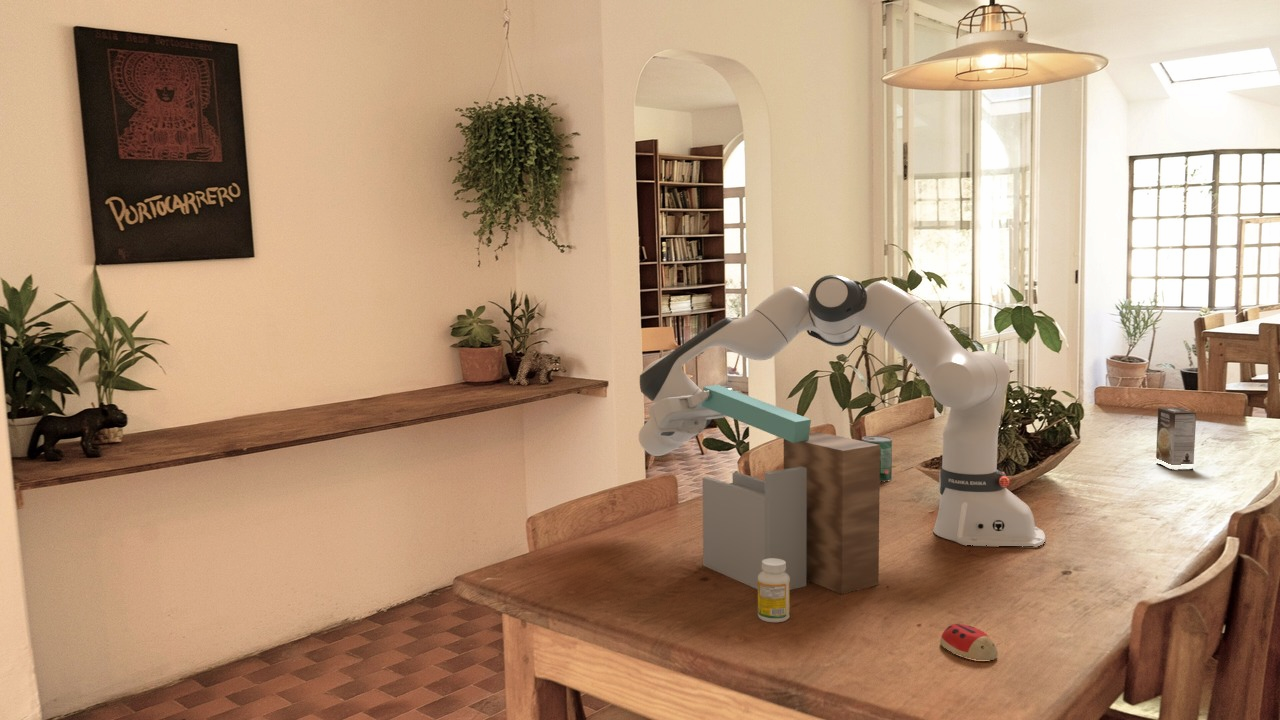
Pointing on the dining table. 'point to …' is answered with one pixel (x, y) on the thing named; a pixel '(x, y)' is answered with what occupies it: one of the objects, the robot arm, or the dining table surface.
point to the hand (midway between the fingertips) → (719, 392)
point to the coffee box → (1176, 435)
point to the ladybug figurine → (968, 642)
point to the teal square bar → (758, 414)
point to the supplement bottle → (773, 591)
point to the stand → (840, 509)
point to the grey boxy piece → (756, 524)
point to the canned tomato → (883, 455)
